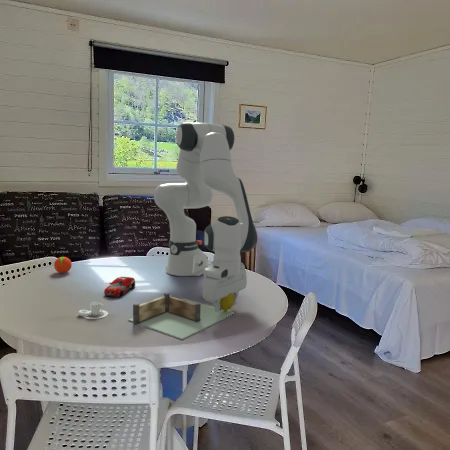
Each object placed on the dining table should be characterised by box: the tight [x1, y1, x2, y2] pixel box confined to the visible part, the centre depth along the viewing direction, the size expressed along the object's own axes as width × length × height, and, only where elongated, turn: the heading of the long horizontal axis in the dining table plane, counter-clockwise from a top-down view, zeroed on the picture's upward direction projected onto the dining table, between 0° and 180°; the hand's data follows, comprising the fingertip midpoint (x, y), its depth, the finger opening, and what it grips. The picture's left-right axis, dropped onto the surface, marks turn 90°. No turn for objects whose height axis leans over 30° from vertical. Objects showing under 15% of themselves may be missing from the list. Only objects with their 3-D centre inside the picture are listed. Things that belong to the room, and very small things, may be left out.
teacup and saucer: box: [77, 301, 109, 320], centre depth 138 cm, size 9×8×4 cm
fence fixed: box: [132, 292, 171, 325], centre depth 136 cm, size 15×2×6 cm, turn 145°
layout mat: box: [127, 298, 235, 341], centre depth 138 cm, size 26×22×1 cm
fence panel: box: [169, 295, 201, 321], centre depth 137 cm, size 13×2×5 cm, turn 52°
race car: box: [104, 276, 136, 298], centre depth 162 cm, size 16×7×5 cm, turn 165°
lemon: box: [219, 293, 235, 312], centre depth 143 cm, size 6×6×8 cm
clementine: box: [53, 256, 73, 274], centre depth 182 cm, size 8×7×7 cm
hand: (225, 307), depth 143 cm, fingers open, 7 cm apart
